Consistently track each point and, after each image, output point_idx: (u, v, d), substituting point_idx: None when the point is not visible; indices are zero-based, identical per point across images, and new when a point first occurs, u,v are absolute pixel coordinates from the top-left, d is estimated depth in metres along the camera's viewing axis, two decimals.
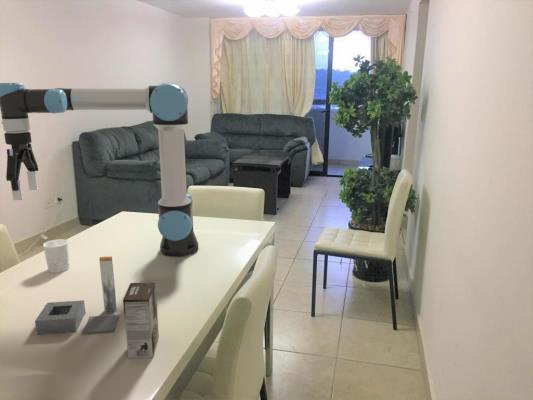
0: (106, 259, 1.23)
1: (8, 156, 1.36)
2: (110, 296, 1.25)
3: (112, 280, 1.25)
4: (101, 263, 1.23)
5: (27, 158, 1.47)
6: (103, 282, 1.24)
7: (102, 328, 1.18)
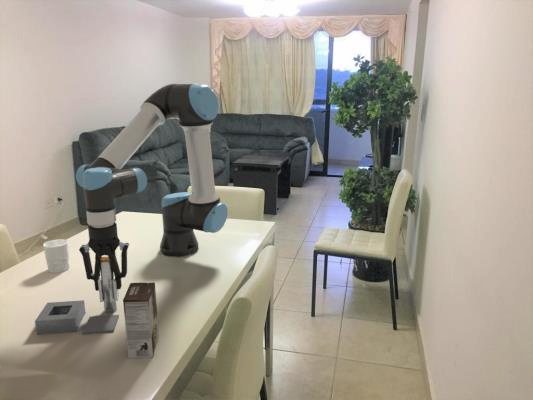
0: (106, 259, 1.23)
1: None
2: (110, 296, 1.25)
3: (112, 280, 1.25)
4: (101, 263, 1.23)
5: None
6: (103, 282, 1.24)
7: (102, 328, 1.18)
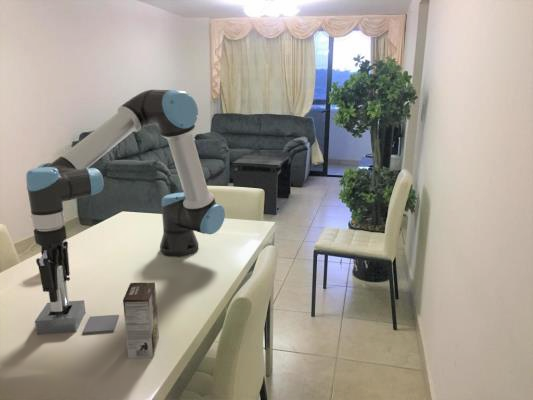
0: (57, 265, 1.17)
1: (39, 267, 1.10)
2: (66, 301, 1.20)
3: None
4: (58, 269, 1.16)
5: (59, 259, 1.18)
6: (61, 289, 1.18)
7: (102, 328, 1.18)
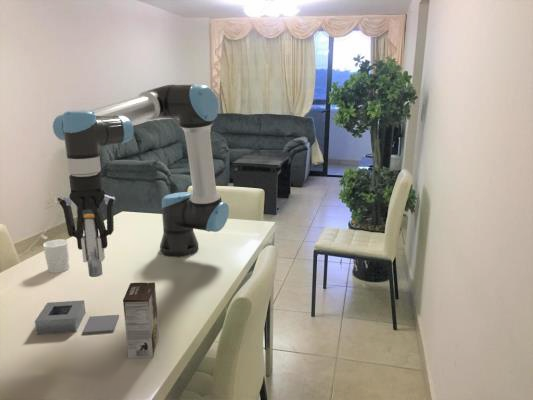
0: (90, 216, 1.12)
1: None
2: (95, 258, 1.14)
3: (97, 240, 1.13)
4: (84, 220, 1.11)
5: None
6: (87, 242, 1.12)
7: (102, 328, 1.18)
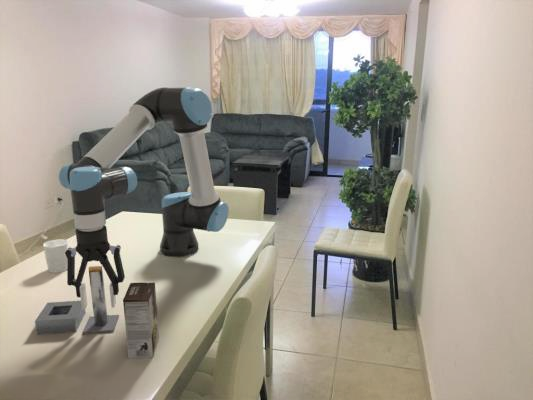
0: (96, 269, 1.16)
1: None
2: (101, 308, 1.18)
3: (102, 291, 1.17)
4: (90, 273, 1.15)
5: None
6: (93, 293, 1.16)
7: (102, 328, 1.18)
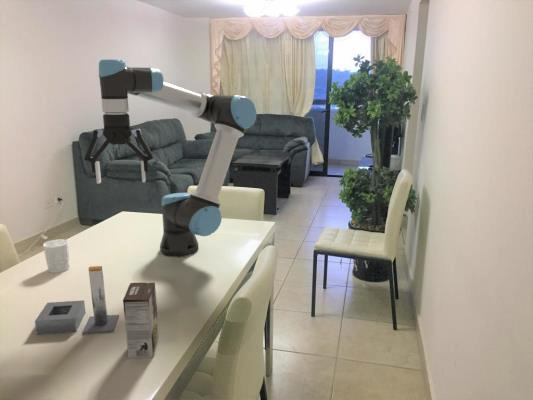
0: (96, 269, 1.15)
1: None
2: (101, 308, 1.18)
3: (102, 291, 1.17)
4: (90, 273, 1.15)
5: None
6: (93, 293, 1.16)
7: (102, 328, 1.18)
